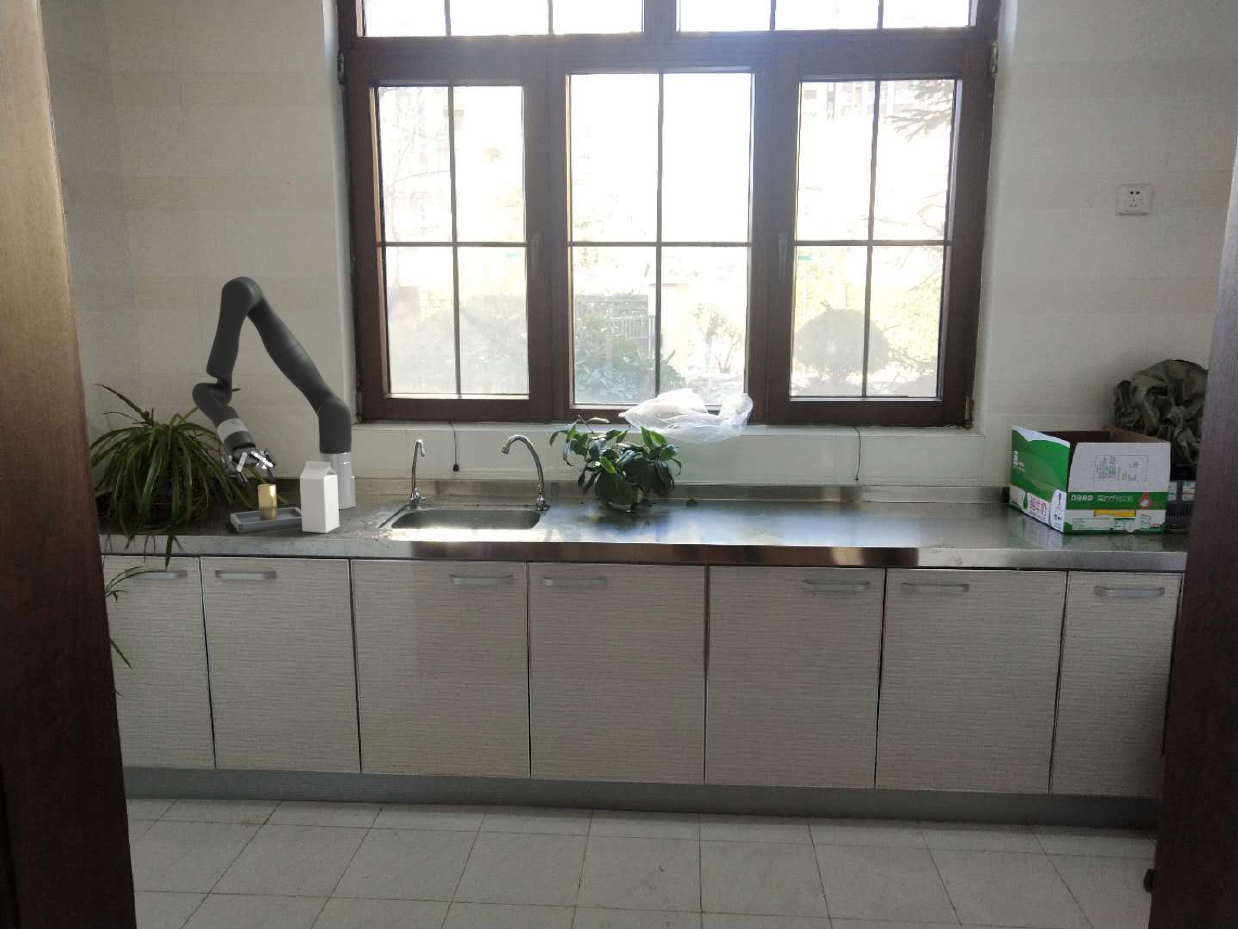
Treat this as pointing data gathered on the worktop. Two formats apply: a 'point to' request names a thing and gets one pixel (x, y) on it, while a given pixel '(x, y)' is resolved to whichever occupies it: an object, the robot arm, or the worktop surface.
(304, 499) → the milk carton
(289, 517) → the tray
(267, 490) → the brass bushing
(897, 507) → the worktop surface
